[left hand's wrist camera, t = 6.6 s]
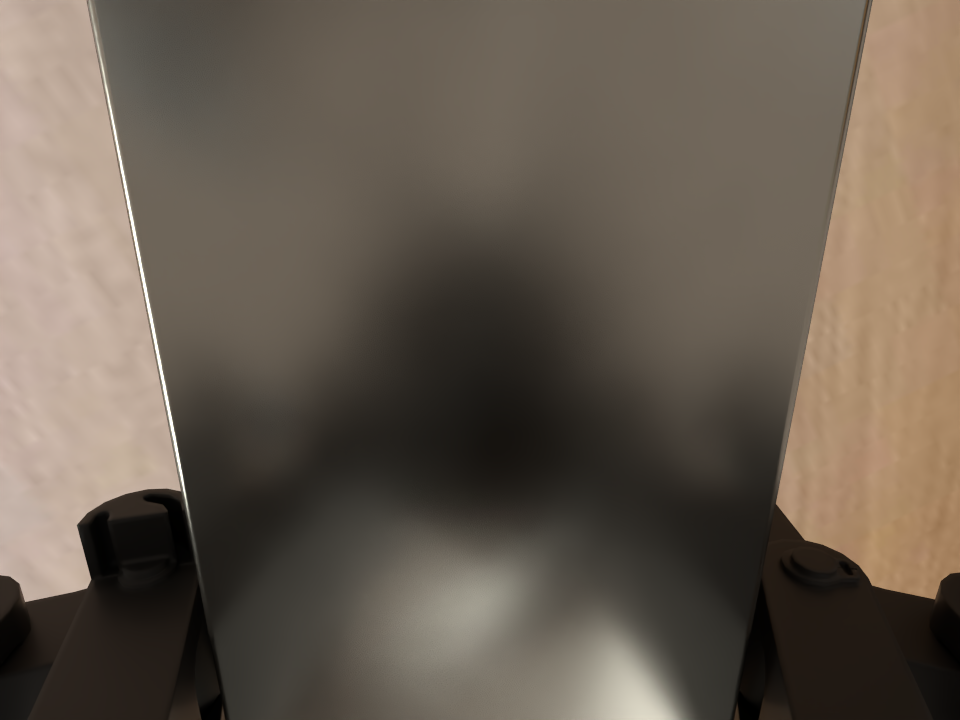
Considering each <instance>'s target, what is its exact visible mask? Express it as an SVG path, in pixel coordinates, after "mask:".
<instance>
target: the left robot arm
mask: <svg viewBox="0 0 960 720" xmlns="http://www.w3.org/2000/svg"><path fill="white" fill-rule="evenodd" d="M77 527H78V531H79V535H80V538H81V542H82V546H83V550H84V553H85V557H86V561H87V565H88V568H89V572H90V576H91V582H90V584H89V586H88V588H87V589H84V590H80V591H76V592H72V593H67V594H63V595H58V596H53V597H48V598H43V599H39V600H34V601H29V602H25V600H24V597H23V594H22V591H21V588H20V584H19V583H18V582H16V581H15V580H14V579H12V578H11V577H9V576H1V575H0V720H225V716H224V711H223V706H222V700H221V695H220V690H219V685H218V680H217V675H216V669H215V664H214V659H213V654H212V649H211V643H210V638H209V633H208V628H207V623H206V617H205V612H204V607H203V602H202V597H201V591H200V586H199V581H198V576H197V571H196V566H195V560H194V555H193V550H192V545H191V540H190V534H189V529H188V524H187V519H186V514H185V508H184V503H183V498H182V493H181V492H180V491H175V490H171V489H147V490H143V491H138V492H133V493H129V494H125V495H122V496H120V497H117V498H115V499H112V500H110V501H107V502H105V503H103V504H102V505H100V506H98V507H97V508H95V509H94V510H92V511H90V512H89V513H87V515H86V516H85V517H84V518H83V519H82V520H81V521H80V522H79V523H78V525H77ZM734 720H960V573H953V574H950V575H948V576H947V577H946V578H944V579H943V580H942V581H941V583H940V586H939V589H938V592H937V595H936V598H935V599H930V598H925V597H920V596H915V595H910V594H906V593H901V592H896V591H891V590H886V589H882V588H879V587H875V586H872V585H871V583H870V581H869V579H868V577H867V576H866V575H865V573H864V572H863V571H862V569H861V568H860V567H859V566H858V565H857V564H856V563H854V562H853V561H852V560H850V559H849V558H847V557H846V556H845V555H843V554H842V553H840V552H837V551H835V550H833V549H831V548H828V547H826V546H824V545H821V544H817V543H813V542H809V541H805V540H804V539H803V538H802V536H801V535H800V534H799V532H798V531H797V530H796V529H795V527H794V526H793V525H792V524H791V522H790V521H789V520H788V519H787V517H786V516H785V515H784V514H783V512H782V511H781V510H780V509H779V507H778V506H777V505H776V504H775V510H774V515H773V520H772V525H771V530H770V536H769V541H768V546H767V551H766V556H765V562H764V567H763V572H762V577H761V582H760V588H759V593H758V598H757V603H756V608H755V614H754V619H753V624H752V629H751V634H750V639H749V645H748V650H747V655H746V660H745V665H744V671H743V676H742V681H741V686H740V691H739V697H738V702H737V707H736V712H735V717H734Z"/></svg>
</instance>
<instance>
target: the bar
mask: <svg viewBox="0 0 960 720" xmlns="http://www.w3.org/2000/svg"><path fill="white" fill-rule="evenodd" d="M87 5H88V10H89V16H90V21H91V26H92V31H93V36H94V42H95V47H96V52H97V57H98V62H99V67H100V73H101V78H102V83H103V88H104V93H105V99H106V104H107V109H108V114H109V119H110V125H111V130H112V135H113V140H114V145H115V150H116V156H117V161H118V166H119V171H120V176H121V182H122V187H123V192H124V197H125V202H126V208H127V213H128V218H129V223H130V228H131V233H132V239H133V244H134V249H135V254H136V259H137V265H138V270H139V275H140V280H141V285H142V291H143V296H144V301H145V306H146V311H147V317H148V322H149V327H150V332H151V337H152V342H153V348H154V353H155V358H156V363H157V368H158V374H159V379H160V384H161V389H162V394H163V400H164V405H165V410H166V415H167V420H168V425H169V431H170V436H171V441H172V446H173V451H174V457H175V462H176V467H177V472H178V477H179V483H180V488H181V493H182V498H183V503H184V508H185V514H186V519H187V524H188V529H189V534H190V540H191V545H192V550H193V555H194V560H195V566H196V571H197V576H198V581H199V586H200V591H201V597H202V602H203V607H204V612H205V617H206V623H207V628H208V633H209V638H210V643H211V649H212V654H213V659H214V664H215V669H216V675H217V680H218V685H219V690H220V695H221V700H222V706H223V711H224V716H225V720H734V717H735V712H736V707H737V702H738V697H739V691H740V686H741V681H742V676H743V671H744V665H745V660H746V655H747V650H748V645H749V639H750V634H751V629H752V624H753V619H754V614H755V608H756V603H757V598H758V593H759V588H760V582H761V577H762V572H763V567H764V562H765V556H766V551H767V546H768V541H769V536H770V530H771V525H772V520H773V515H774V510H775V504H776V499H777V494H778V489H779V484H780V478H781V473H782V468H783V463H784V458H785V452H786V447H787V442H788V437H789V432H790V426H791V421H792V416H793V411H794V406H795V400H796V395H797V390H798V385H799V380H800V374H801V369H802V364H803V359H804V354H805V349H806V343H807V338H808V333H809V328H810V323H811V317H812V312H813V307H814V302H815V297H816V291H817V286H818V281H819V276H820V271H821V265H822V260H823V255H824V250H825V245H826V239H827V234H828V229H829V224H830V219H831V213H832V208H833V203H834V198H835V193H836V187H837V182H838V177H839V172H840V167H841V161H842V156H843V151H844V146H845V141H846V135H847V130H848V125H849V120H850V115H851V110H852V104H853V99H854V94H855V89H856V84H857V78H858V73H859V68H860V63H861V58H862V52H863V47H864V42H865V37H866V32H867V26H868V21H869V16H870V11H871V6H872V0H87Z"/></svg>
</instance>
